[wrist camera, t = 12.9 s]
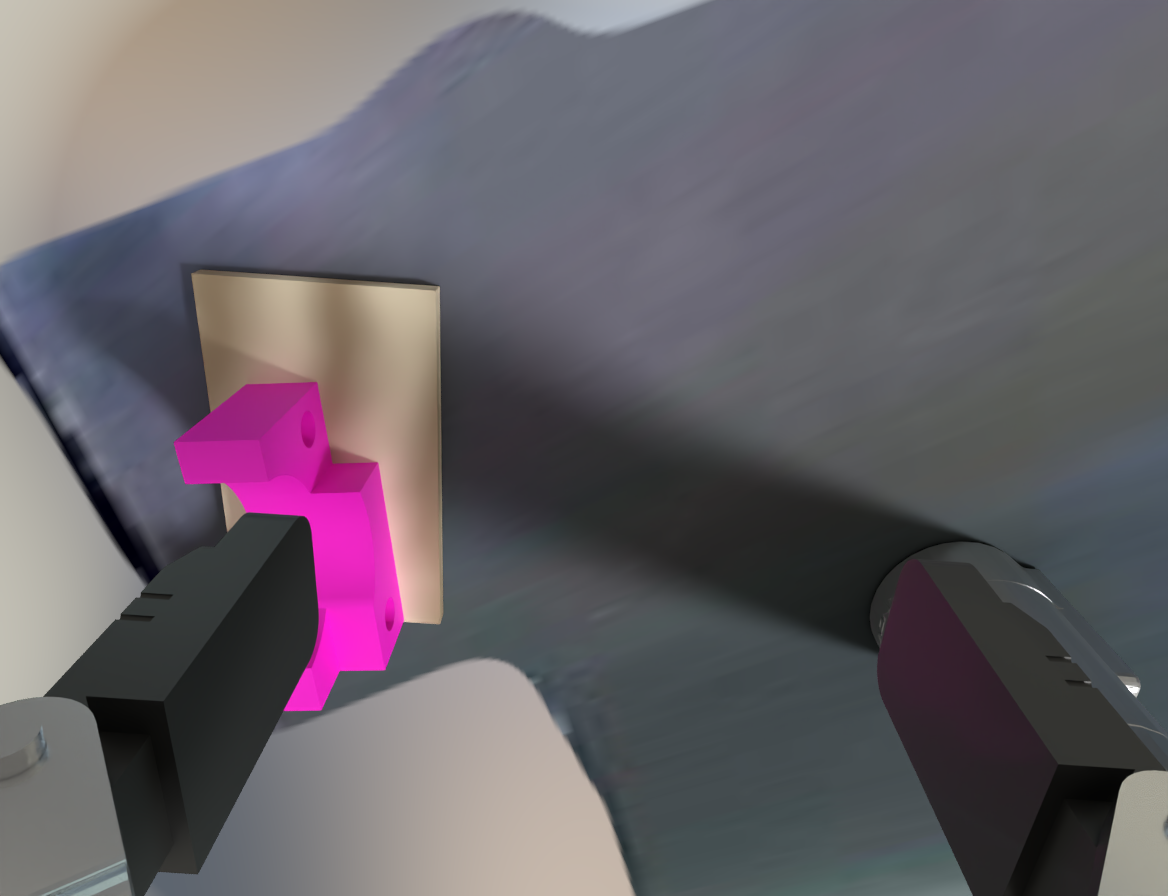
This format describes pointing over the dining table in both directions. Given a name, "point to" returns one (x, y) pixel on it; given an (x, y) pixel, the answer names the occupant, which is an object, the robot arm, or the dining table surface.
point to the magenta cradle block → (309, 519)
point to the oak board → (346, 390)
